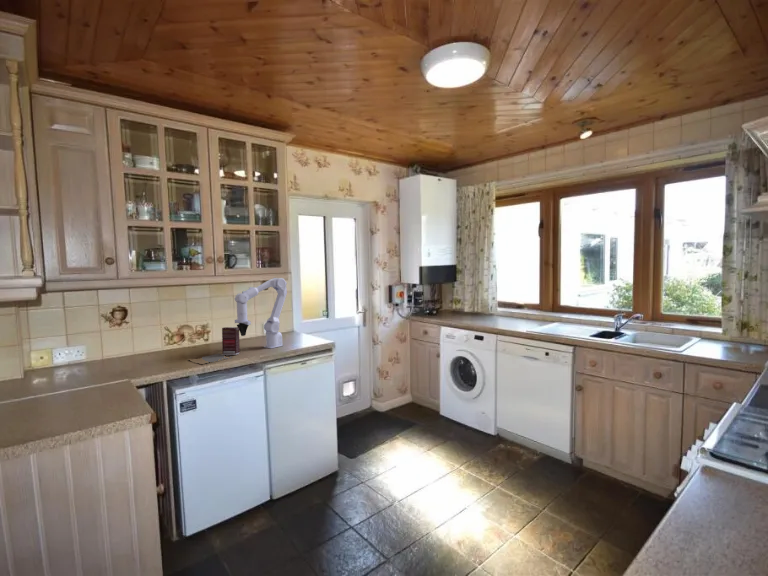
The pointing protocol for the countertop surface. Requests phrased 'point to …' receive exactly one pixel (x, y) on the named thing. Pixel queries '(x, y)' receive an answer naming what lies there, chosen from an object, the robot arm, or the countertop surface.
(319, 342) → the countertop surface
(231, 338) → the supplement box
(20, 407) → the countertop surface
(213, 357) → the mat
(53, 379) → the countertop surface
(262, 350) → the countertop surface
